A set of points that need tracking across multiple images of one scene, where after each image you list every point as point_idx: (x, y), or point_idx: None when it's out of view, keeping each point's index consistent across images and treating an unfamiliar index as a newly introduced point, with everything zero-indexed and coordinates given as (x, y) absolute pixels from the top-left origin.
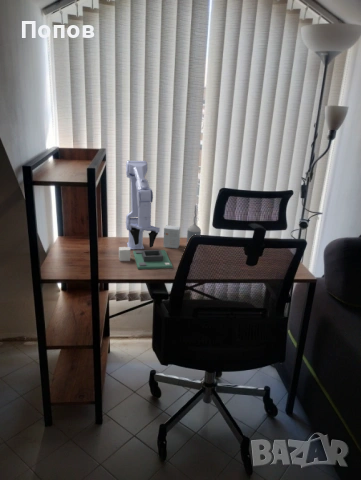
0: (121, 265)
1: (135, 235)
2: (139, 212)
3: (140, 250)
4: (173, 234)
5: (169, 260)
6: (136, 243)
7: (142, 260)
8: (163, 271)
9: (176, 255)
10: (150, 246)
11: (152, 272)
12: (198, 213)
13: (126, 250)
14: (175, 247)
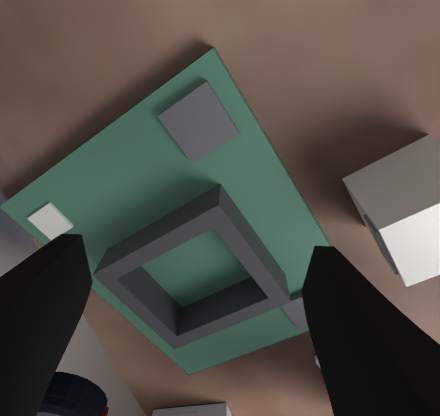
0: (386, 51)
1: (395, 393)
2: None
3: None
4: None
5: None
6: (317, 264)
7: (240, 198)
8: (14, 113)
9: (111, 350)
10: (56, 239)
11: (68, 46)
12: None
13: (417, 209)
14: (164, 412)
